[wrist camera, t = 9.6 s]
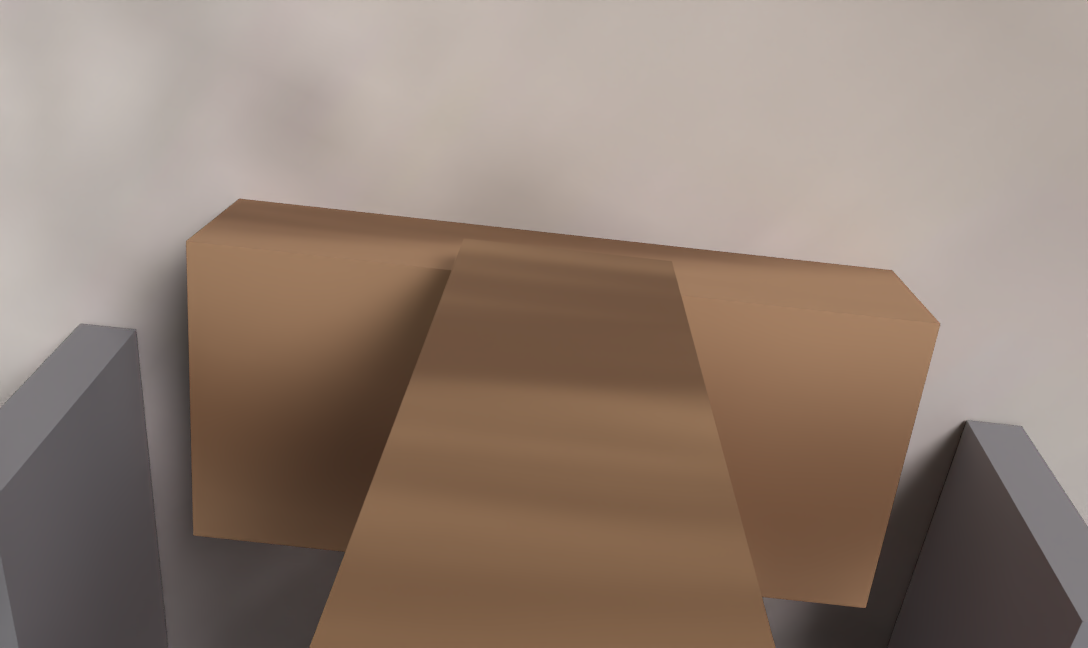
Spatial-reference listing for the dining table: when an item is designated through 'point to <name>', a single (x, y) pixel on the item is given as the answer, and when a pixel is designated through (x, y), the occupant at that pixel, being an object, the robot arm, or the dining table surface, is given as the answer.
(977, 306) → the dining table surface
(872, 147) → the dining table surface
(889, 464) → the brown wooden t-shaped block
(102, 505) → the box
